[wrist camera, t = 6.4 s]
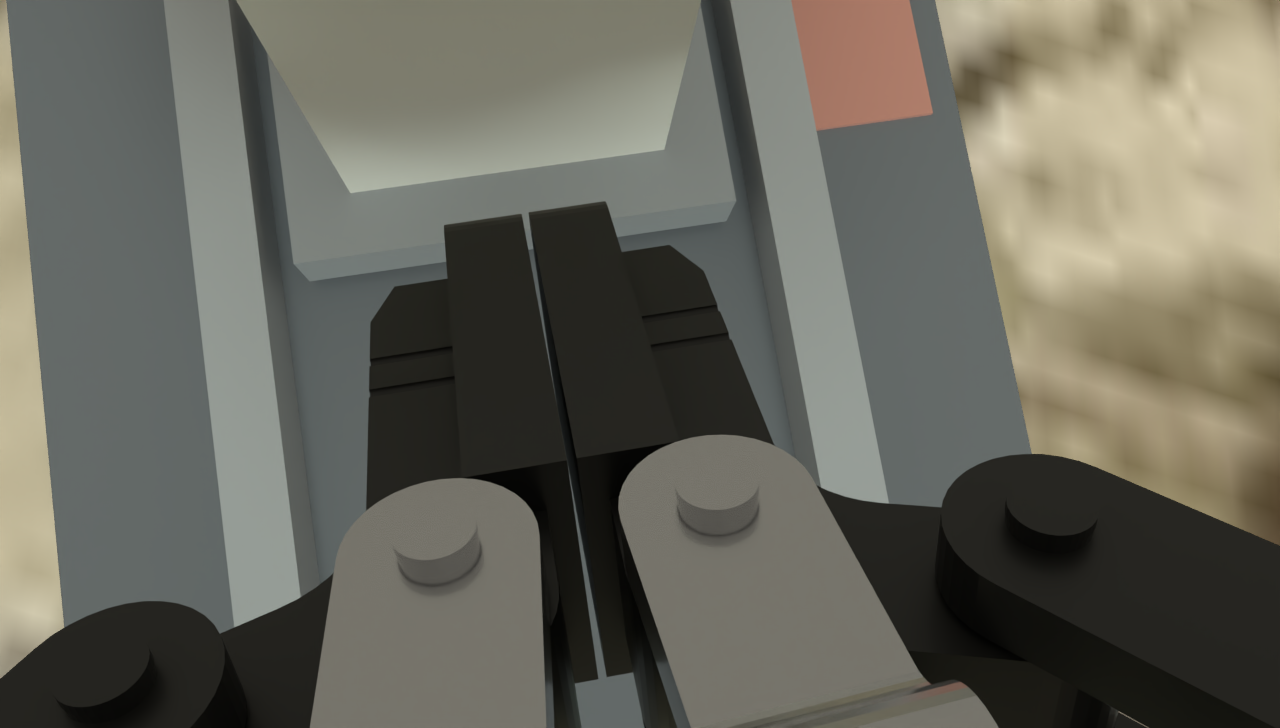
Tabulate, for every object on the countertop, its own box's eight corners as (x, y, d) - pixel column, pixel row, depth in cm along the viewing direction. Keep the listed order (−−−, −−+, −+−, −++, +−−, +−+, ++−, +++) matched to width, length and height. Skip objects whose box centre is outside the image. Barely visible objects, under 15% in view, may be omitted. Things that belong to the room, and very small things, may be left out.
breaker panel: (147, 991, 20) (61, 1083, 16) (54, 36, 22) (-39, -57, 19) (1063, 814, 21) (1159, 864, 18) (880, -66, 24) (933, -171, 20)
